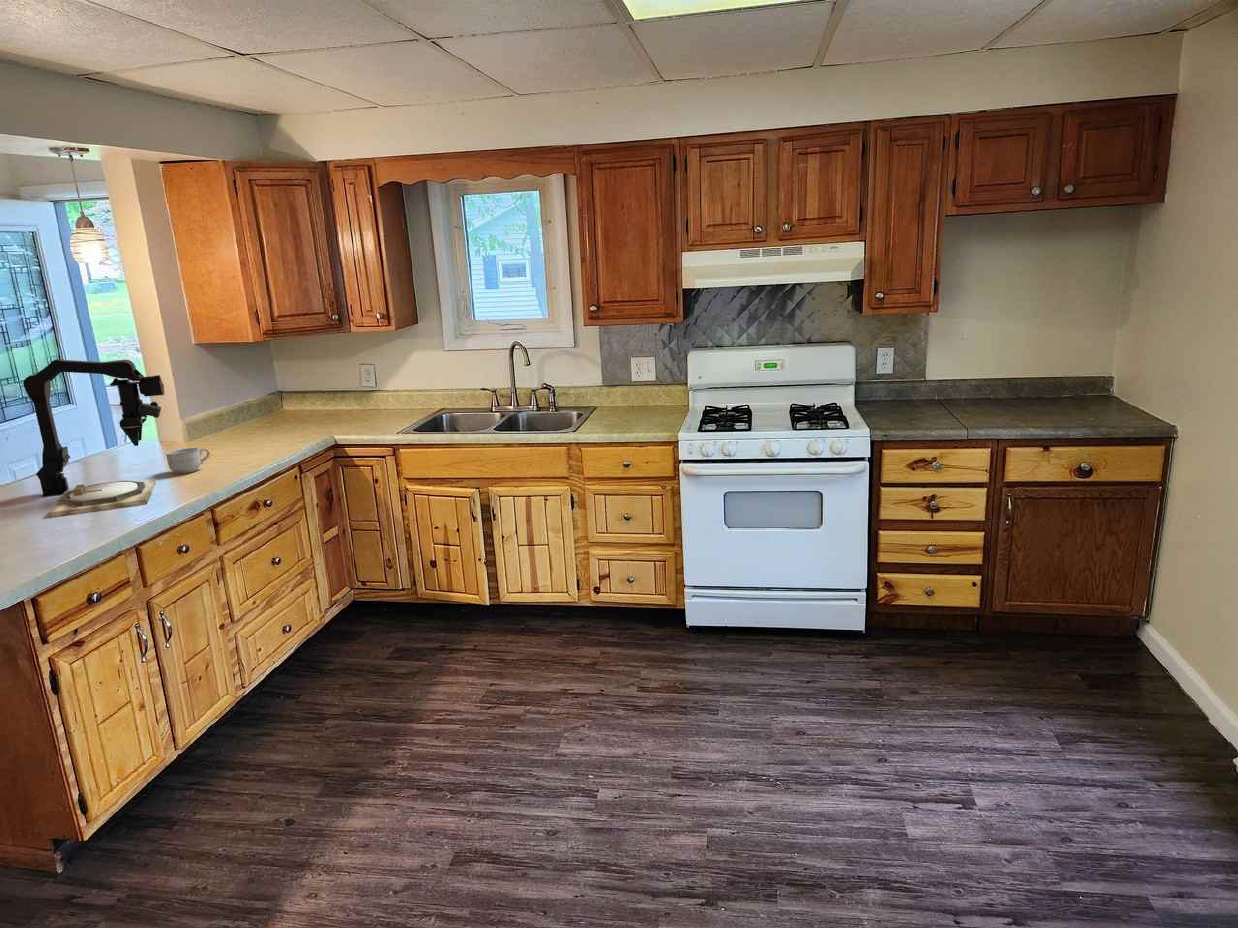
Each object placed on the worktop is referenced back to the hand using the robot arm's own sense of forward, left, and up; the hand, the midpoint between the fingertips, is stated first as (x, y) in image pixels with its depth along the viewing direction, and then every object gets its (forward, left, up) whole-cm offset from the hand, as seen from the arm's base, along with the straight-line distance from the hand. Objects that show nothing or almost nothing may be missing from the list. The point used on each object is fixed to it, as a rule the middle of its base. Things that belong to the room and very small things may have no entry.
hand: (138, 443), depth 272 cm
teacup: (+13, +9, -14) cm, 22 cm away
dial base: (-10, -17, -14) cm, 24 cm away
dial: (-10, -17, -12) cm, 23 cm away
